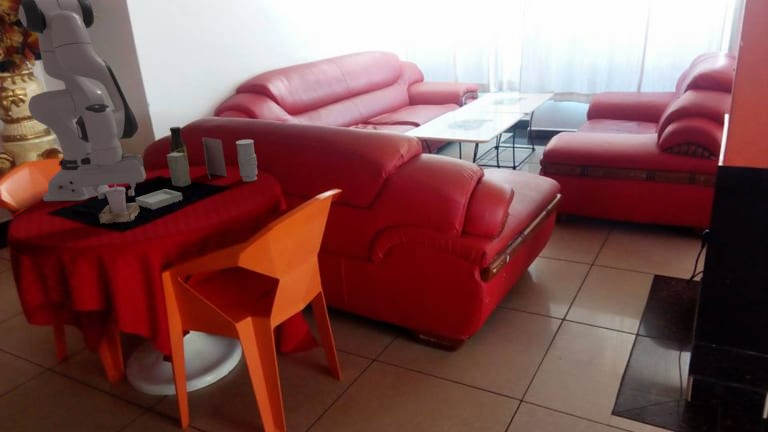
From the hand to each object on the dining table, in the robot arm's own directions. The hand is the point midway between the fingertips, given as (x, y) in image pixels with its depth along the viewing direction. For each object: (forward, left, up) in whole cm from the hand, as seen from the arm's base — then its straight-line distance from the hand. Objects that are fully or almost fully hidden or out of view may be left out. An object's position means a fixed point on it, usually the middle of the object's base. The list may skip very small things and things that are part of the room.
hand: (116, 196), depth 196 cm
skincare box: (+14, +33, -8) cm, 37 cm away
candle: (+40, +33, -8) cm, 52 cm away
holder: (0, 0, -7) cm, 7 cm away
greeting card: (+26, +42, -8) cm, 50 cm away
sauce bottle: (+12, +46, -8) cm, 48 cm away
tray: (+10, +13, -7) cm, 18 cm away
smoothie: (0, 0, -8) cm, 8 cm away
